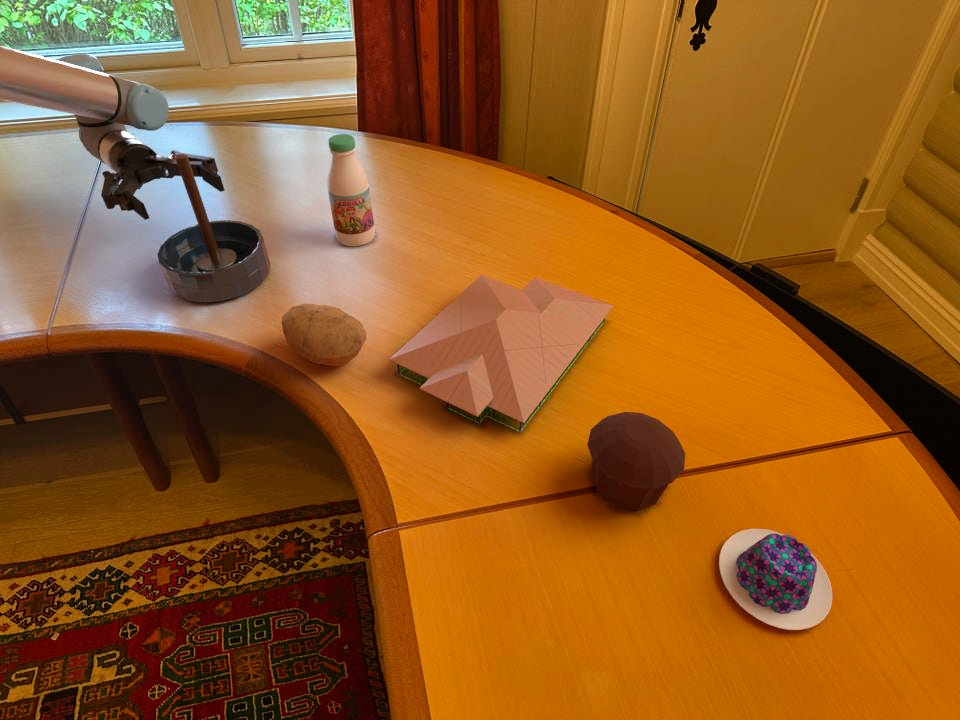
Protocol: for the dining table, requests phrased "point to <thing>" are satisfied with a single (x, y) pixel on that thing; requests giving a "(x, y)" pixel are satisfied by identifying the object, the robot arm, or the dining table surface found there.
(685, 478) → the dining table surface
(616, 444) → the muffin
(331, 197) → the milk bottle
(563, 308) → the house
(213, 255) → the brown rod with cylinder
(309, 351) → the potato
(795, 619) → the pudding
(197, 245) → the bowl
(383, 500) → the dining table surface
